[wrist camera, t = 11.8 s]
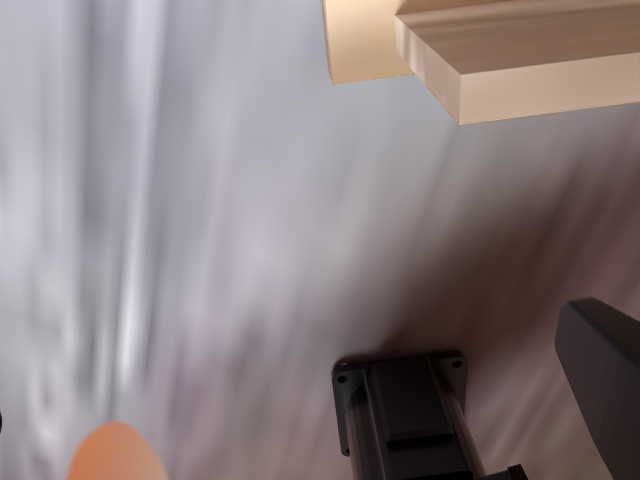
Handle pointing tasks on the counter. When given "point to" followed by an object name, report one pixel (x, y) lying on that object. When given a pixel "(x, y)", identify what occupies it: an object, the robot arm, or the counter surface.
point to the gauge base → (492, 52)
